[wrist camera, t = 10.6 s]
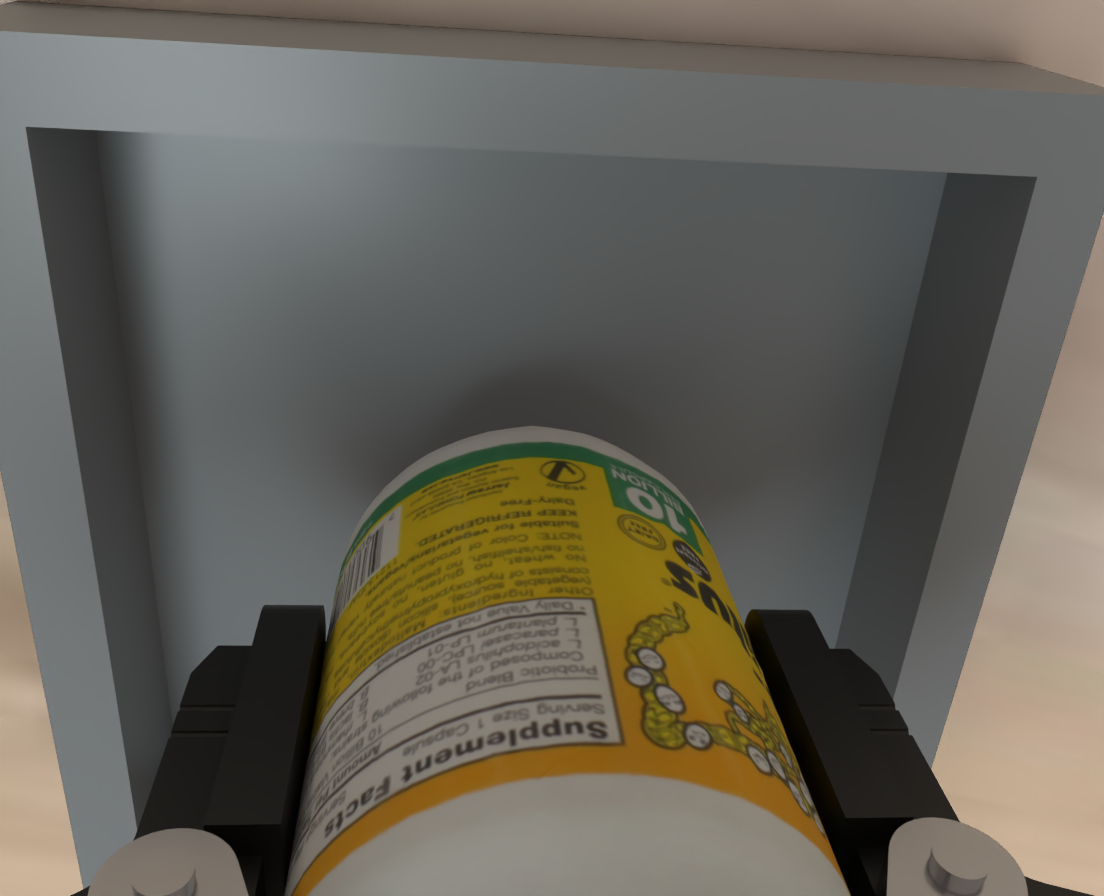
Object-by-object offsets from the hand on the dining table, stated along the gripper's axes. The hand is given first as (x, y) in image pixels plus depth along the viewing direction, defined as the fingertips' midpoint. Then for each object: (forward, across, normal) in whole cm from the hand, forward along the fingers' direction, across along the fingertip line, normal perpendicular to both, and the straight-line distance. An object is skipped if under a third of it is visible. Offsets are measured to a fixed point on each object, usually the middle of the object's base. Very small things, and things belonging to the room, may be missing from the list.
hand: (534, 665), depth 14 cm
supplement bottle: (+2, 0, 0) cm, 2 cm away
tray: (+5, 0, 0) cm, 5 cm away
